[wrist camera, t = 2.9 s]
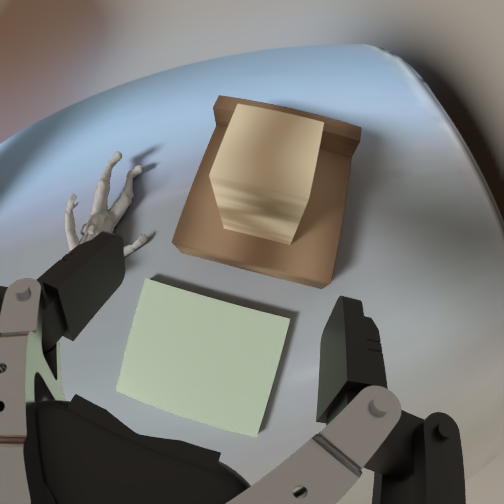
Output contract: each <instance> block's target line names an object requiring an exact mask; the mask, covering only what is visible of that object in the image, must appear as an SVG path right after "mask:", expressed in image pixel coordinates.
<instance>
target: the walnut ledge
mask: <svg viewBox="0 0 504 504" xmlns="http://www.w3.org/2000/svg"><path fill="white" fill-rule="evenodd" d="M237 104H243V105H249V106H254V107H259V108H265V109H270V110H274V111H279V112H284V113H288V114H293V115H297V116H301V117H305V118H309V119H313V120H317V121H321V122H324V126H323V131H322V137H321V142H320V147H319V152H318V157H317V162H316V168H315V172H314V177H313V182H312V187H311V192H310V197H309V200H308V203H307V205H306V208H305V210H304V213H303V215H302V218H301V220H300V222H299V225H298V227H297V230H296V232H295V235H294V237H293V239H292V242H291V244H290V245H288V244H284V243H280V242H276V241H272V240H268V239H264V238H260V237H257V236H253V235H249V234H245V233H241V232H237V231H233V230H229V229H225V228H224V227H223V223H222V220H221V216H220V213H219V209H218V206H217V202H216V199H215V195H214V192H213V188H212V184H211V181H210V177H209V174H210V171H211V169H212V166H213V163H214V161H215V158H216V156H217V153H218V150H219V148H220V145H221V143H222V140H223V138H224V135H225V133H226V130H227V128H228V125H229V123H230V120H231V118H232V116H233V113H234V111H235V108H236V106H237ZM213 110H214V116H215V122H216V128H215V130H214V132H213V135H212V137H211V139H210V142H209V144H208V147H207V149H206V151H205V154H204V156H203V159H202V161H201V164H200V166H199V169H198V171H197V174H196V177H195V179H194V182H193V184H192V187H191V190H190V192H189V195H188V198H187V200H186V203H185V206H184V208H183V211H182V214H181V217H180V220H179V222H178V225H177V228H176V231H175V234H174V237H173V240H172V243H173V244H174V245H175V246H176V247H177V248H178V250H179V251H180V252H182V253H185V254H189V255H193V256H197V257H200V258H204V259H208V260H211V261H215V262H219V263H223V264H226V265H230V266H234V267H238V268H242V269H245V270H249V271H253V272H257V273H261V274H265V275H268V276H272V277H276V278H280V279H284V280H288V281H292V282H296V283H300V284H304V285H308V286H312V287H316V288H320V289H322V288H324V287H326V286H327V285H329V284H330V283H331V279H332V274H333V269H334V264H335V259H336V254H337V249H338V243H339V238H340V232H341V226H342V220H343V214H344V208H345V202H346V195H347V188H348V181H349V174H350V166H351V158H352V156H353V154H354V152H355V150H356V148H357V146H358V144H359V142H360V136H361V127H358V126H355V125H352V124H348V123H345V122H342V121H338V120H335V119H331V118H327V117H324V116H320V115H316V114H312V113H308V112H304V111H300V110H296V109H291V108H287V107H282V106H278V105H273V104H268V103H263V102H257V101H252V100H246V99H240V98H234V97H227V96H220V95H219V96H218V98H217V101H216V103H215V105H214V107H213Z"/></svg>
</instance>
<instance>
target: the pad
mask: <svg viewBox="0 0 504 504" xmlns="http://www.w3.org/2000/svg"><path fill="white" fill-rule="evenodd" d="M289 322H290V319H289V318H285V317H281V316H277V315H273V314H269V313H265V312H261V311H258V310H254V309H250V308H246V307H243V306H239V305H235V304H231V303H228V302H224V301H221V300H217V299H214V298H210V297H206V296H203V295H200V294H196V293H193V292H189V291H186V290H183V289H179V288H176V287H173V286H169V285H166V284H163V283H160V282H156V281H153V280H150V279H147V278H146V279H145V282H144V285H143V288H142V292H141V295H140V298H139V302H138V305H137V309H136V312H135V316H134V319H133V323H132V327H131V330H130V334H129V338H128V342H127V346H126V350H125V354H124V358H123V362H122V366H121V370H120V375H119V379H118V384H117V388H116V391H118V392H120V393H122V394H124V395H127V396H129V397H131V398H134V399H136V400H139V401H141V402H143V403H146V404H149V405H151V406H154V407H156V408H159V409H162V410H164V411H167V412H170V413H173V414H176V415H178V416H181V417H184V418H187V419H190V420H194V421H197V422H200V423H203V424H207V425H210V426H213V427H217V428H221V429H224V430H228V431H232V432H236V433H240V434H244V435H248V436H252V437H257V434H258V431H259V428H260V425H261V422H262V418H263V415H264V412H265V408H266V405H267V402H268V398H269V395H270V392H271V388H272V385H273V381H274V378H275V374H276V371H277V367H278V363H279V360H280V356H281V353H282V349H283V345H284V341H285V338H286V334H287V330H288V326H289Z"/></svg>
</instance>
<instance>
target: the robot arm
mask: <svg viewBox="0 0 504 504" xmlns="http://www.w3.org/2000/svg"><path fill="white" fill-rule="evenodd" d="M124 275H125V264H124V247H123V239H122V237H121V236H119V235H116V234H112V233H109V232H106V231H102V232H101V233H99V234H98V235H97V236H96V237H94V238H93V239H92V240H89V241H86V242H84V243H82V244H79V245H77V246H76V247H75V248H74V249H72V250H71V251H70V252H69V254H66V255H65V256H64V257H63V258H62V260H59V261H58V262H57V263H55V264H54V265H53V266H52V267H51V268H50V269H48V270H47V271H46V272H45V273H44V274H43V275H42V276H40V277H39V278H38V279H37V280H35V279H31V278H24V279H20V280H17V281H15V282H14V283H12V284H11V285H10V286H9V287H3V286H0V504H336V503H337V502H338V501H339V500H340V499H341V498H342V497H343V496H344V495H345V494H346V493H347V491H348V490H349V489H350V488H351V487H352V486H353V485H354V484H355V483H356V481H357V480H358V479H359V477H360V476H361V474H362V471H361V469H362V468H363V467H364V468H366V469H369V470H372V471H374V472H375V473H374V486H373V497H372V504H466V501H465V500H466V499H465V479H464V466H463V456H462V447H461V440H460V433H459V429H458V426H457V424H456V422H455V421H454V420H453V419H452V418H451V417H450V416H449V415H447V414H445V413H441V412H436V413H433V414H431V415H429V416H428V417H427V418H426V419H425V420H424V419H421V418H419V417H416V416H414V415H412V414H409V413H407V412H405V411H403V410H401V405H400V402H399V400H398V399H397V397H396V396H395V395H394V394H393V393H392V392H391V391H390V390H388V388H387V381H386V373H385V366H384V359H383V353H382V347H381V344H380V335H379V330H378V328H377V326H376V325H375V323H374V322H373V320H372V318H369V317H365V316H364V313H363V306H362V302H361V300H356V299H352V298H348V297H344V296H340V297H339V298H338V300H337V302H336V304H335V306H334V308H333V311H332V313H331V315H330V317H329V319H328V321H327V324H326V326H325V328H324V331H323V334H322V338H321V346H320V369H319V387H318V403H317V416H316V422H321V423H326V427H325V428H324V429H323V430H322V431H321V432H320V433H318V434H316V435H315V436H313V437H312V438H311V439H310V440H309V441H308V442H306V443H305V444H304V445H303V446H302V447H301V448H300V449H298V450H297V451H296V452H295V453H294V454H292V455H291V456H290V457H289V458H288V459H286V460H285V461H284V462H283V463H281V464H280V465H279V466H278V467H276V468H275V469H274V470H272V471H271V472H270V473H269V474H267V475H266V476H265V477H263V478H262V479H261V480H259V481H258V482H256V483H255V484H254V485H252V486H250V484H249V483H248V482H247V481H246V480H245V479H244V478H243V477H242V476H241V475H239V474H238V473H237V472H236V471H235V470H233V469H232V468H230V467H229V466H227V465H225V464H223V463H222V462H220V461H219V458H220V455H221V453H220V452H216V451H213V450H209V449H206V448H202V447H199V446H196V445H193V444H190V443H187V442H184V441H180V440H171V439H164V438H157V437H150V436H144V435H139V434H137V433H135V432H134V431H132V430H131V429H130V428H128V427H127V426H126V425H124V424H123V423H122V422H121V421H119V420H118V419H117V418H116V417H114V416H113V415H112V414H111V413H109V412H108V411H107V410H105V409H103V408H101V407H99V406H97V405H95V404H93V403H92V402H90V401H88V400H86V399H84V398H82V397H80V396H78V395H77V394H75V396H74V397H73V399H72V400H71V402H69V401H66V399H65V396H64V393H63V389H62V379H61V358H60V343H59V339H60V338H61V337H62V336H64V337H66V338H68V339H70V340H72V341H74V340H75V338H76V337H77V336H78V335H79V333H80V332H81V331H82V330H83V329H84V327H85V326H86V325H87V324H88V322H89V321H90V320H91V319H92V318H93V316H94V315H95V314H96V313H97V312H98V311H99V309H100V308H101V307H102V306H103V305H104V303H105V302H106V301H107V300H108V299H109V298H110V297H111V295H112V294H113V293H114V292H115V291H116V290H117V288H118V287H119V286H120V285H121V283H122V281H123V279H124Z"/></svg>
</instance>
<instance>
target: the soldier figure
mask: <svg viewBox="0 0 504 504" xmlns="http://www.w3.org/2000/svg"><path fill="white" fill-rule="evenodd" d="M121 158H122V154H121V153H120V152H119V151H117V152H115V154H114V156H113V157H112V158H111V159H110V161H109V162H108V165H107V167H106V168H105V171H104V173H103V174H102V176H101V178H100V180H99V184H98V186H97V188H96V190H95V199H94V203H93V208H92V215H90V216H89V218H88V222H87V224H85V225H83V228H82V231H81V234H82V235H83V234H84V235H83V237H82V238H81V240H80V241H79V240H78V237H77V235H76V232H75V221H74V216H73V212H72V210H73V209H74V208H75V207H76V206H77V205H78V202H77V203H76V204H74V201H75V199H76V197H77V196H75V195H74V194H72V195H71V196H70V197H69V199H68V201H67V207H66V211H65V229H66V230H65V231H66V235H67V240H68V243H69V245H68V246H69V249H70V251H71V250H72V249H74V248H75V247H76V246H77V245H79V244H82V243H84V242H86V241H89V240H92V239H93V238H94V237H96V236H97V235H98V234H99V233H101V232H102V231H106V232H109V233H113V231H114V227H115V226H116V225H117V223H118V222H119V220H120V219H121V217H122V216H123V215H124V213H125V211H126V209H127V208H128V206H129V205H130V204H131V203H132V200H131V199H132V198H133V197H134V194H133V178H135V177H136V176H137V175H139V174H140V173H141V172H142V171H143V167H142V166H140V165H137V166H136V167H135V168H134V169H133V170H132V171H129V172H128V174H127V179H126V183H125V187H124V189H123V192H122V194H121V198H119V199H118V200H117V202H116V203H115V205H114V206H112V207H111V208H110V209H109V210H108V206H107V197H108V194H109V191H110V177H111V171H112V168H113V167H114V166H115V165H116V163H117V162H118V161H120V160H121ZM74 197H75V198H74ZM73 198H74V199H73ZM141 237H142V234H141V235H140V237H139V238H138V239H137V241H135V242H134V243H133V244H130V245H127V246H125V247H124V257H125V256H127V255H129V254H130V253H132V252H133V251H135V249H137V248H138V247H140V246H141V245H143V244H144V243H145V242H146V241H147V239H148V237H147V236H145V235H144V236H143V237H142V238H141ZM144 237H145V238H144ZM146 237H147V238H146ZM140 238H141V239H140ZM143 238H144V239H143ZM144 240H145V241H144Z"/></svg>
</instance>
